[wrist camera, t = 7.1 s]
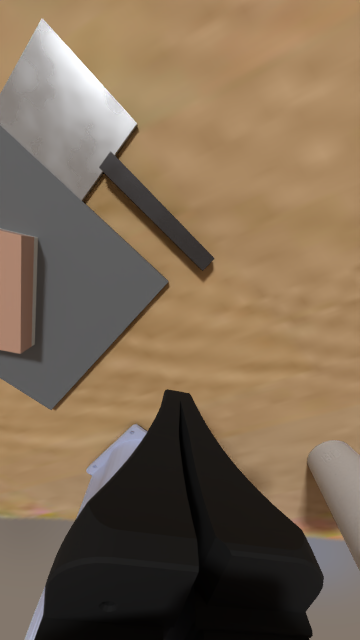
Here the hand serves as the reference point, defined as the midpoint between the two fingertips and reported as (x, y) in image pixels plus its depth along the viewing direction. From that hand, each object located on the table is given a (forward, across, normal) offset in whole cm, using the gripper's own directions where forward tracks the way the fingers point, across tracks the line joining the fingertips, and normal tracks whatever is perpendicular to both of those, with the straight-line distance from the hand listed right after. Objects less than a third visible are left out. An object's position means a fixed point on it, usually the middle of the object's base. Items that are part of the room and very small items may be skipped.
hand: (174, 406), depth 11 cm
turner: (+10, +7, -12) cm, 17 cm away
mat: (+10, +14, -1) cm, 18 cm away
